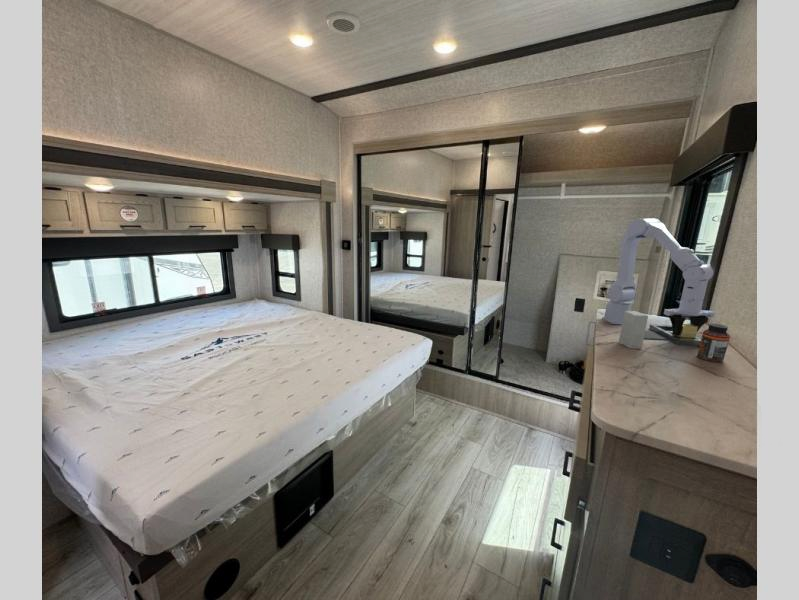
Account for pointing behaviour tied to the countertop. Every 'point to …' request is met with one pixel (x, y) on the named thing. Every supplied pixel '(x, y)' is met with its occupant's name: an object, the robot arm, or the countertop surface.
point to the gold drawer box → (687, 331)
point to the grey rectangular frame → (667, 333)
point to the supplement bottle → (714, 343)
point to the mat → (653, 336)
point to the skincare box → (633, 329)
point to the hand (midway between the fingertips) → (683, 334)
